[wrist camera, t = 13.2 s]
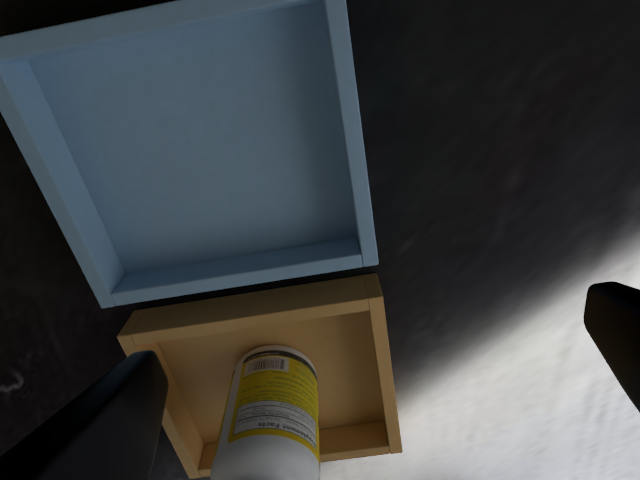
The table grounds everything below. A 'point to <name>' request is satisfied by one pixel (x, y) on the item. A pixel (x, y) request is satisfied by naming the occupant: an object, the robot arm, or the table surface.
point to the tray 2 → (286, 330)
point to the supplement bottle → (270, 419)
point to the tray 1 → (196, 143)
